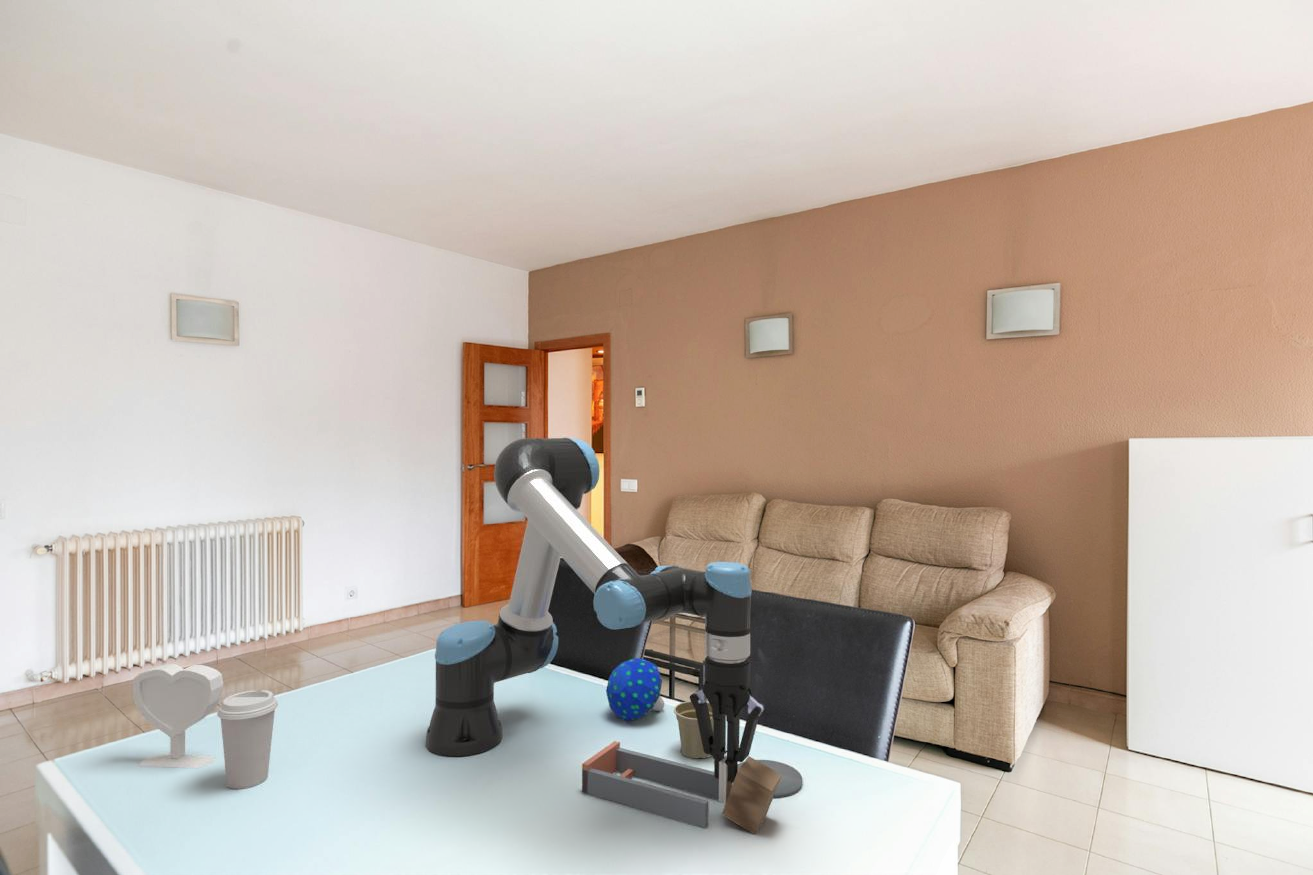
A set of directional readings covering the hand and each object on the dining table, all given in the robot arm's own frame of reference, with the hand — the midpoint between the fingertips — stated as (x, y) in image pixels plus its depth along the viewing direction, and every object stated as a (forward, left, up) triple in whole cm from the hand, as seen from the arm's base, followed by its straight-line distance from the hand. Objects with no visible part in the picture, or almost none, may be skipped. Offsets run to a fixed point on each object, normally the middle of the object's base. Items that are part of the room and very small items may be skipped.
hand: (725, 798), depth 118 cm
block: (+3, 0, -2) cm, 4 cm away
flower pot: (-14, +19, -3) cm, 24 cm away
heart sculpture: (-99, -34, -3) cm, 105 cm away
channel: (-13, 0, -3) cm, 14 cm away
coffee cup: (-80, -32, -3) cm, 86 cm away
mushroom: (-34, +29, -3) cm, 45 cm away
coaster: (+2, +15, -3) cm, 16 cm away
